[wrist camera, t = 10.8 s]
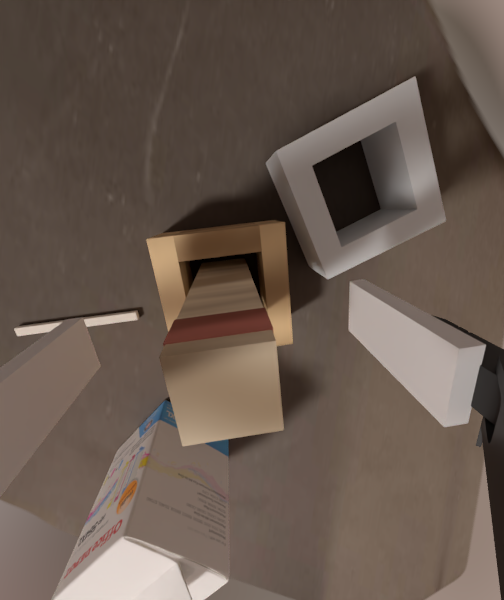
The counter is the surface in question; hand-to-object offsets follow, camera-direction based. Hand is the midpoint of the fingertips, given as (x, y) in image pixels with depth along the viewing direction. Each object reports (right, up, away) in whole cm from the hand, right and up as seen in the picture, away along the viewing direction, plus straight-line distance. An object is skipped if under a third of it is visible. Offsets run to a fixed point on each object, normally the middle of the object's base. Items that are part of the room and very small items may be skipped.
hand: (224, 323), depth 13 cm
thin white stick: (-13, -1, +10) cm, 17 cm away
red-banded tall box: (-1, +3, +10) cm, 10 cm away
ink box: (-7, -14, +15) cm, 22 cm away
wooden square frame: (-1, +3, +10) cm, 10 cm away
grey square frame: (+8, +10, +8) cm, 15 cm away
